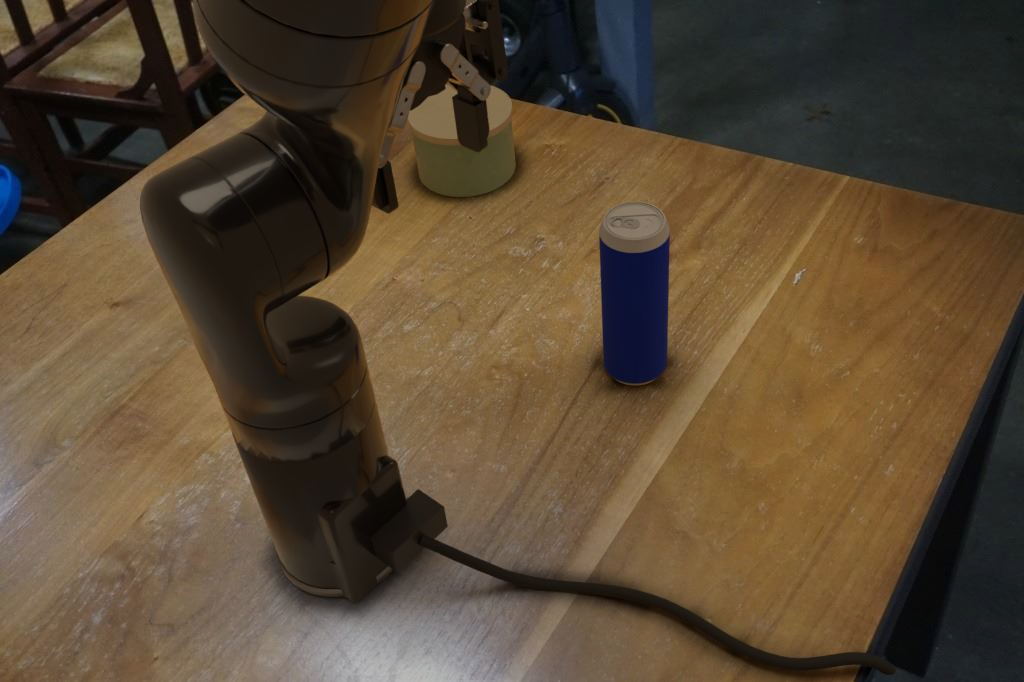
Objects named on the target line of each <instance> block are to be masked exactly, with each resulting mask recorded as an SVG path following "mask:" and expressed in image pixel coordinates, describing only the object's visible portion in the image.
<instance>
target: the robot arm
mask: <svg viewBox="0 0 1024 682" xmlns="http://www.w3.org/2000/svg"><path fill="white" fill-rule="evenodd" d="M499 3H500V2H499V0H192V5H193V11H194V18H195V23H196V26H197V29H198V32H199V34H200V37H201V39H202V41H203V44H204V45H205V48H206V49H207V51H208V53H209V54H210V55H211V57H212V59H213V60H214V62H215V64H216V65H217V66H218V68H219V69H220V70H221V72H222V73H223V74H224V75H225V76H226V77H227V78H228V79H229V81H231V83H232V84H233V85H234V86H235V87H236V88H237V89H238V90H239V91H240V92H241V93H242V94H243V95H245V96H247V97H248V98H249V99H250V100H251V101H252V102H254V103H255V104H257V105H258V106H259V107H261V108H262V109H263V110H265V111H266V112H265V114H263V116H262V117H261V118H260V119H258V120H257V121H256V122H255V123H253V124H252V125H251V126H249V127H247V128H246V129H244V130H242V131H240V132H238V133H236V134H234V135H232V136H230V137H228V138H227V139H224V140H222V141H220V142H218V143H216V144H213V145H212V146H210V147H208V148H206V149H204V150H202V151H200V152H198V153H196V154H194V155H191V156H190V157H188V158H186V159H183V160H182V161H180V162H178V163H176V164H174V165H172V166H170V167H168V168H166V169H164V170H162V171H161V172H159V173H157V174H154V175H153V176H152V177H150V178H149V179H148V180H147V181H146V182H145V184H144V185H143V187H142V189H141V192H140V196H139V210H140V216H141V222H142V226H143V229H144V232H145V234H146V238H147V240H148V243H149V245H150V248H151V250H152V253H153V254H154V257H155V259H156V262H157V264H158V266H159V268H160V270H161V273H162V274H163V276H164V279H165V280H166V283H167V284H168V287H169V289H170V291H171V293H172V295H173V297H174V299H175V302H176V304H177V306H178V308H179V310H180V313H181V315H182V317H183V319H184V321H185V324H186V326H187V329H188V331H189V334H190V337H191V339H192V342H193V344H194V346H195V348H196V351H197V354H198V356H199V357H200V360H201V361H202V363H203V366H204V367H205V370H206V372H207V374H208V375H209V378H210V380H211V383H212V385H213V387H214V391H215V392H216V395H217V397H218V400H219V403H220V406H221V408H222V411H223V413H224V417H225V418H226V421H227V424H228V427H229V429H230V432H231V435H232V438H233V440H234V444H235V446H236V448H237V451H238V453H239V457H240V459H241V461H242V464H243V467H244V470H245V472H246V475H247V477H248V480H249V483H250V485H251V488H252V491H253V493H254V496H255V498H256V501H257V504H258V507H259V510H260V512H261V515H262V517H263V520H264V522H265V525H266V528H267V530H268V533H269V536H270V538H271V540H272V543H273V545H274V547H275V550H276V552H275V553H276V556H277V560H278V563H279V565H280V568H281V570H282V572H283V574H284V575H285V577H286V578H287V579H288V581H290V583H291V584H293V585H294V586H295V587H297V588H298V589H300V590H301V591H303V592H305V593H308V594H311V595H315V596H319V597H327V598H336V597H337V598H340V597H344V598H345V599H347V600H349V601H350V602H351V603H354V604H356V603H359V602H360V601H361V600H363V598H364V597H365V596H366V595H367V594H369V593H370V592H371V591H372V590H373V589H374V588H375V587H376V586H377V585H378V584H379V583H380V582H382V581H383V580H385V579H386V578H387V577H388V576H389V575H390V574H391V573H392V572H393V571H394V572H395V573H397V574H399V573H400V572H401V571H402V570H403V569H405V568H406V567H407V565H409V564H410V563H411V562H412V561H413V560H414V559H415V558H416V557H417V556H418V555H420V554H421V553H422V552H423V551H424V550H425V549H426V550H429V551H432V552H434V553H436V554H438V555H440V556H443V557H445V558H447V559H449V560H451V561H453V562H456V563H458V564H461V565H463V566H465V567H468V568H470V569H472V570H475V571H478V572H480V573H483V574H484V575H487V576H490V577H492V578H494V579H496V580H500V581H502V582H506V583H509V584H512V585H517V586H521V587H525V588H530V589H536V590H544V591H550V592H558V593H559V592H560V593H571V594H580V595H581V594H582V595H592V596H593V595H594V596H602V597H608V598H609V597H610V598H616V599H620V600H621V599H622V600H627V601H630V602H636V603H639V604H643V605H647V606H649V607H652V608H655V609H658V610H660V611H663V612H665V613H667V614H670V615H672V616H673V617H676V618H677V619H679V620H681V621H683V622H685V623H686V624H688V625H690V626H692V627H693V628H695V629H696V630H698V631H699V632H701V633H703V634H704V635H706V636H708V637H709V638H711V639H712V640H713V641H716V642H717V643H719V644H720V645H722V646H724V647H725V648H727V649H729V650H731V651H733V652H735V653H737V654H739V655H741V656H743V657H745V658H747V659H749V660H752V661H754V662H757V663H760V664H763V665H766V666H769V667H772V668H775V669H781V670H787V671H797V672H798V671H799V672H802V671H803V672H804V671H805V672H806V671H818V670H824V669H831V668H838V667H844V666H865V667H869V668H872V669H875V670H877V671H878V672H880V673H882V674H883V675H887V676H893V675H894V674H896V672H897V668H896V667H895V665H893V664H892V663H891V662H889V660H887V659H885V658H883V657H881V656H880V655H879V656H878V655H876V654H873V653H869V652H861V651H849V652H838V653H831V654H826V655H819V656H813V657H812V656H811V657H789V656H783V655H780V654H775V653H773V652H769V651H765V650H762V649H760V648H758V647H754V646H752V645H750V644H748V643H746V642H743V641H742V640H740V639H738V638H737V637H734V636H732V635H731V634H729V633H728V632H725V631H724V630H722V629H721V628H719V627H718V626H716V625H714V624H712V623H711V622H710V621H708V620H706V619H705V618H703V617H702V616H700V615H699V614H697V613H695V612H693V611H691V610H689V609H688V608H686V607H684V606H682V605H679V604H677V602H673V601H671V600H668V599H666V598H664V597H661V596H658V595H656V594H654V593H653V594H652V593H650V592H645V591H642V590H638V589H634V588H631V587H626V586H619V585H612V584H605V583H597V582H586V581H574V580H573V581H572V580H562V579H561V580H560V579H551V578H544V577H539V576H532V575H528V574H523V573H519V572H515V571H512V570H509V569H506V568H504V567H500V566H499V565H496V564H494V563H491V562H489V561H486V560H484V559H481V558H479V557H477V556H474V555H472V554H470V553H467V552H465V551H462V550H460V549H458V548H457V547H456V548H455V547H453V546H452V545H449V544H446V543H444V542H442V541H440V540H438V539H437V538H438V537H439V536H440V535H441V534H442V533H443V532H445V530H446V529H447V528H448V527H449V525H448V520H447V514H446V510H445V506H444V505H443V504H442V503H440V502H438V501H437V500H436V499H434V498H432V497H431V496H429V495H428V494H427V493H425V492H424V491H422V490H421V489H419V488H417V490H415V491H414V492H413V493H411V494H410V496H408V497H406V493H405V487H404V484H403V479H402V476H401V471H400V466H399V463H398V461H397V460H395V459H394V458H393V457H392V456H390V453H389V450H388V449H389V448H388V446H387V441H386V437H385V433H384V428H383V423H382V421H381V420H382V419H381V416H380V412H379V408H378V404H377V398H376V395H375V390H374V386H373V382H372V376H371V373H370V369H369V364H368V359H367V356H366V351H365V346H364V343H363V338H362V336H361V334H360V333H361V332H360V330H359V328H358V326H357V324H356V322H355V321H354V319H352V316H350V314H349V313H348V312H347V311H346V310H344V309H343V308H341V307H340V306H339V305H337V304H336V303H333V302H331V301H328V300H325V299H322V298H319V297H315V296H309V295H301V294H303V293H305V292H307V291H309V290H310V289H312V288H313V287H315V286H317V285H318V284H320V283H322V282H323V281H325V280H326V279H328V278H330V277H331V276H333V275H334V274H336V273H337V272H339V271H340V270H341V269H343V268H344V267H345V266H346V265H347V264H348V263H349V262H350V261H351V260H352V259H353V258H354V257H355V255H356V254H357V253H358V251H360V250H359V249H361V246H362V244H363V241H364V239H365V236H366V233H367V230H368V226H369V221H370V218H371V217H370V216H371V211H372V207H373V208H375V209H378V210H379V211H382V212H384V213H386V214H391V213H392V212H394V211H396V210H397V209H398V208H399V200H398V195H397V188H396V183H395V178H394V174H393V167H392V162H391V161H389V160H388V159H389V157H390V153H391V151H392V147H393V143H394V141H395V138H396V136H397V135H399V134H401V133H402V132H403V131H404V130H405V127H406V123H407V122H408V115H409V112H410V111H412V110H413V109H415V108H416V107H418V106H420V105H421V104H422V103H423V102H424V101H425V100H426V99H427V98H428V97H429V96H433V95H437V94H439V93H440V92H442V91H443V90H445V89H446V87H445V85H449V86H451V87H452V88H453V89H454V90H456V91H457V93H458V94H456V95H454V96H453V97H452V101H453V108H454V116H455V123H456V130H457V138H458V141H459V143H460V144H461V145H462V146H464V147H466V148H468V149H471V150H473V151H475V152H480V151H482V150H483V149H485V148H486V147H487V146H488V141H487V137H488V135H489V123H488V112H487V103H486V99H487V98H488V96H489V95H490V91H491V87H490V86H493V83H494V82H495V81H496V80H497V81H503V80H504V79H505V78H507V77H506V76H507V75H508V71H509V67H508V66H509V65H508V59H507V53H506V47H505V39H504V31H503V24H502V18H501V10H500V4H499ZM463 39H464V43H465V49H466V55H467V59H466V58H465V57H464V55H462V54H461V51H460V47H461V44H462V41H463ZM486 53H487V56H486Z"/></svg>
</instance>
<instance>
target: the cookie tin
mask: <svg viewBox="0 0 1024 682" xmlns="http://www.w3.org/2000/svg"><path fill="white" fill-rule="evenodd" d="M445 87H446V89H445V90H443V91H442V92H440V93H439V94H437V95H433V96H429V97H428V98H427V99H426V100H425V101H424V102H423V103H422V104H421V105H420V106H418V107H416V108H415V109H413V110H412V111H410V112H409V115H408V118H407V124H408V127H409V129H410V131H411V136H412V141H413V147H414V153H415V160H416V164H417V165H416V166H417V171H418V177H419V180H420V182H421V183H422V185H423V186H424V187H425V188H427V189H428V190H429V191H431V192H433V193H435V194H437V195H441V196H445V197H451V198H470V197H471V198H472V197H477V196H480V195H484V194H488V193H490V192H493V191H496V190H497V189H499V188H501V187H502V186H504V185H505V184H506V183H508V182H509V180H510V179H511V178H512V177H513V175H514V173H515V171H516V168H517V167H516V165H517V164H516V163H517V162H516V153H515V151H516V150H515V142H514V141H515V139H514V131H513V120H512V119H513V115H514V108H513V102H512V99H511V97H510V96H509V95H508V93H506V91H504V90H503V89H502V88H501V89H500V88H499V87H497V86H494V85H491V86H490V87H491V91H490V95H489V96H488V98H487V99H486V103H487V112H488V123H489V135H488V137H487V141H488V146H487V147H486V148H485V149H483V150H482V151H480V152H475V151H473V150H471V149H468V148H466V147H464V146H462V145H461V144H460V143H459V141H458V138H457V130H456V123H455V116H454V108H453V101H452V97H453V96H454V95H456V94H458V93H457V91H456V90H454V89H453V88H452V87H451V86H449V85H448V84H445Z"/></svg>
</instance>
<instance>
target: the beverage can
mask: <svg viewBox="0 0 1024 682" xmlns="http://www.w3.org/2000/svg"><path fill="white" fill-rule="evenodd" d="M670 229H671V228H670V225H669V222H668V220H667V218H666V215H665V213H664V212H663V211H662V209H660V208H659V207H658V206H656V205H654V204H652V203H648V202H644V201H626V202H621V203H618V204H616V205H614V206H612V207H611V208H609V209H608V210H607V211H606V213H604V215H603V218H602V220H601V223H600V226H599V229H598V233H599V235H598V237H599V238H598V239H599V241H598V242H599V244H598V245H599V267H600V268H599V269H600V270H599V271H600V297H601V298H600V299H601V327H602V328H601V329H602V330H601V331H602V353H603V354H602V356H603V357H602V358H603V361H602V362H603V367H604V369H605V371H606V372H607V374H608V375H609V376H611V377H612V378H613V379H614V380H615V381H617V382H619V383H621V384H624V385H628V386H634V387H635V386H644V385H647V384H650V383H652V382H654V381H656V380H657V379H658V378H659V377H660V376H661V375H662V374H663V373H664V372H665V370H666V368H667V366H668V341H669V339H668V336H669V335H668V334H669V292H670V291H669V290H670V247H671V246H670V245H671V244H670V243H671V242H670V241H671V230H670Z"/></svg>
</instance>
